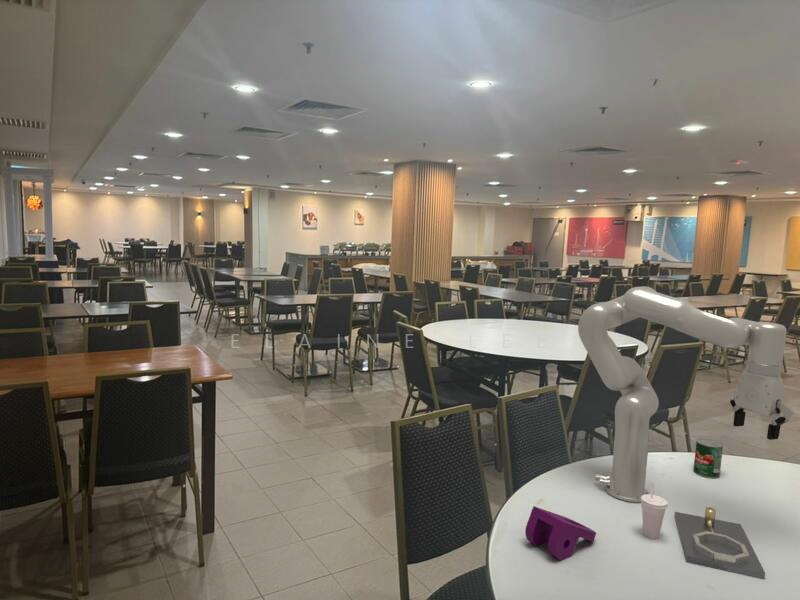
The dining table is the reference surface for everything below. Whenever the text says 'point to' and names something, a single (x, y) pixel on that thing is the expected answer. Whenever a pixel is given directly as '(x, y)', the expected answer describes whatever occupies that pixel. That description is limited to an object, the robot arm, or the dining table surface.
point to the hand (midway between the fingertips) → (754, 432)
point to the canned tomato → (708, 458)
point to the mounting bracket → (556, 532)
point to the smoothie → (652, 514)
